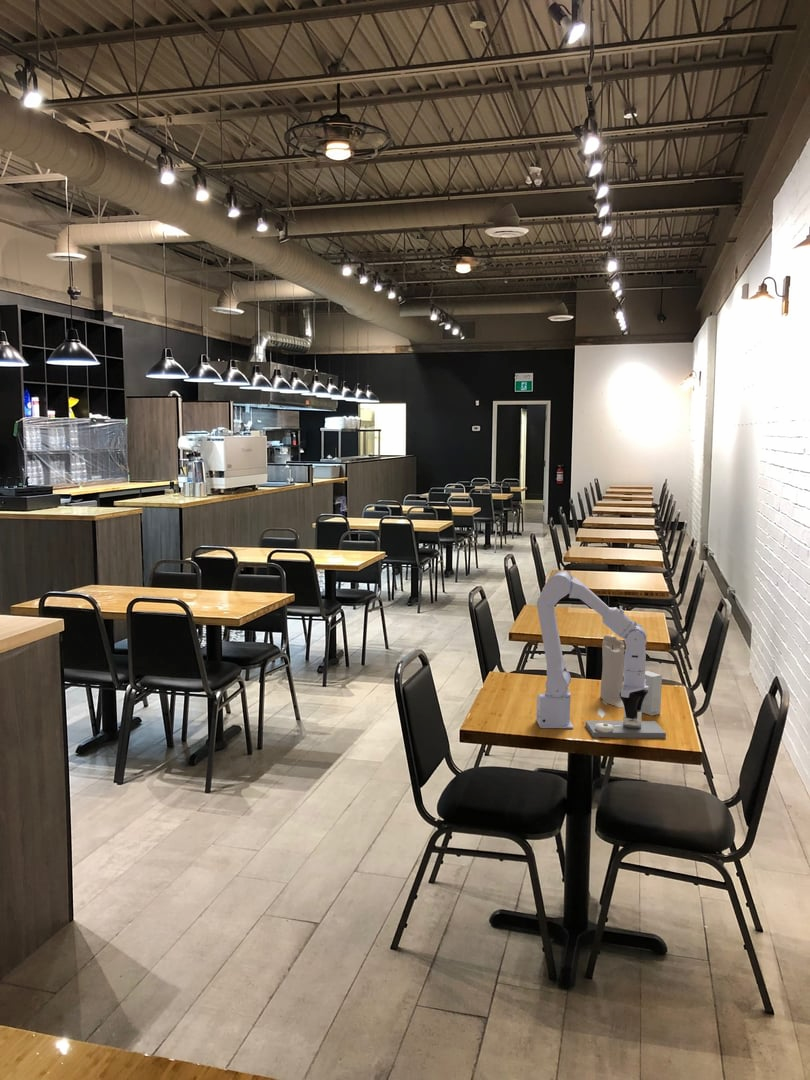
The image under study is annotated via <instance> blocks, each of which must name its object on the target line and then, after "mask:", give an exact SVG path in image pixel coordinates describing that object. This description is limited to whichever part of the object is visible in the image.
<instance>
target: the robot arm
mask: <svg viewBox="0 0 810 1080" xmlns="http://www.w3.org/2000/svg"><path fill="white" fill-rule="evenodd" d="M568 594H569V596H568ZM566 596H568V598H569V599H579V600H580V601H582V602H583V603H584V604H586V605H587V606H588V607H590V608H591V609H592V610H594V611H595V612H596V613H597V614H599V615H600V616H601V617H602V623H603V625H605V626H606V627H608V628H609V629H610V631H612V632H613V633H614V634H616V635H617V636H618V637H619V638H621V639H624V640H623V642H624V645H625V650H624V673H623V688H622V690H621V692H620V698H621V700H622V702H623V704H624V707H623V709H624V708H625V713H626V717H627V718H630V719H634V718H635V715H636V709H638V710H640V711H641V707H642V703H643V700H644V698H645V696H646V694H647V693H648V690H647V689H649V686H646V679H645V671H646V661H647V659H646V657H647V653H646V649H647V648H646V646H647V642H648V640H647V637H648V635H647V632H646V630H645V628H644V627H643V626H642V625H641V624H638V622H637V621H635V620H634V621H633V620H632V619H631V618H630V617H629V616H628V615H626V614H625V610H624V609H622V608H620V609H619V608H618V607H616V606H615V607H609V606H608V605H607V604H606V603H605V602H604V601H603V600H602V599H601V598H600V597H599V596H598V595H596V593H594V592H593V591H592V590H591V588H589V587H587V586H586V585H585V583H583V582H582V581H581V580H579V578H576V577H575V576H573V575H572V574H571V573H570V572H568V571H566V570H559V571H557V572H555V573H554V574H553V575H552V576H551V577H550V578H549V579H548V580H547V582H546V583H545V584H544V586H543V588H542V590H541V593H540V594H539V597H538V599H537V601H536V608H537V614H538V619H539V621H538V622H539V624H540V625H539V626H540V630H541V631H540V633H541V639H542V642H543V643H542V645H543V649H544V655H545V662H546V681H545V690H544V691H545V693H539V694H537V697H536V716H535V717H536V718H535V721H536V723H537V725H538V726H539V728H540V729H574V725H573V723H572V722H571V701H572V700H571V697H572V693H571V692H570V690H569V686H570V683H571V681H572V677H571V674H570V672H569V671H568V669H567V667H566V663H565V660H564V656H563V650H562V644H561V638H560V634H559V633H560V632H559V627H558V620H557V615H556V609H555V606H556V604H558V602H559V601H560V600H561V599H563V598H564V597H566Z"/></svg>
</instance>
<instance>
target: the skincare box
mask: <svg viewBox="0 0 810 1080" xmlns="http://www.w3.org/2000/svg"><path fill="white" fill-rule="evenodd" d="M645 679H646V686H649V689H647V690H648V693H647V694H646V696H645V698H644V700H643V703H642V707H641V711H642V714H645V715H648V716H655V715H656V716H657V715H660V714H661V712H662V711H661V709H662V707H661V706H662V705H661V704H662V688H663V685H662V683H663V675H662V674H659V673H656V672H652V671H649V670H645Z"/></svg>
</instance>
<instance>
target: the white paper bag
mask: <svg viewBox="0 0 810 1080" xmlns="http://www.w3.org/2000/svg"><path fill="white" fill-rule="evenodd" d="M601 645H602V646H601V647H602V649H601V650H602V651H601V653H602V669H601V671H602V672H601V679H600V680H601V681H600V696H599V697H600V699H602V700H603V701H604V700H605V701H604V702H605V703H607V704H608V705H610V704H611V706H615V707H616V708H620V709H621V708H623V709H624V704H623V702H622V700H621V698H620V692H621V690H622V688H623V683H624V657H625V641H624V640H621V639H618V638H617V636H614V635H613V636H612V635H604V636H603V640H602V643H601Z"/></svg>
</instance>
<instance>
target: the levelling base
mask: <svg viewBox="0 0 810 1080" xmlns="http://www.w3.org/2000/svg"><path fill="white" fill-rule="evenodd" d="M584 724H585V728H586V729H587V730H588V732H589V731H590V732H589V733H590V735H591V734H592V735H591V736H592V737H609V738H610V739H666V737H667V733H666V731H665V730H664V729H663V728H662V727H661V726H660V725H659V724H658V722H656V720H654V721H653V720H642V722H641V728H638V729H632V728H627V727H624V726H623V720H585V723H584ZM611 737H612V738H611ZM613 737H614V738H613ZM609 738H608V739H609Z"/></svg>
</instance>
